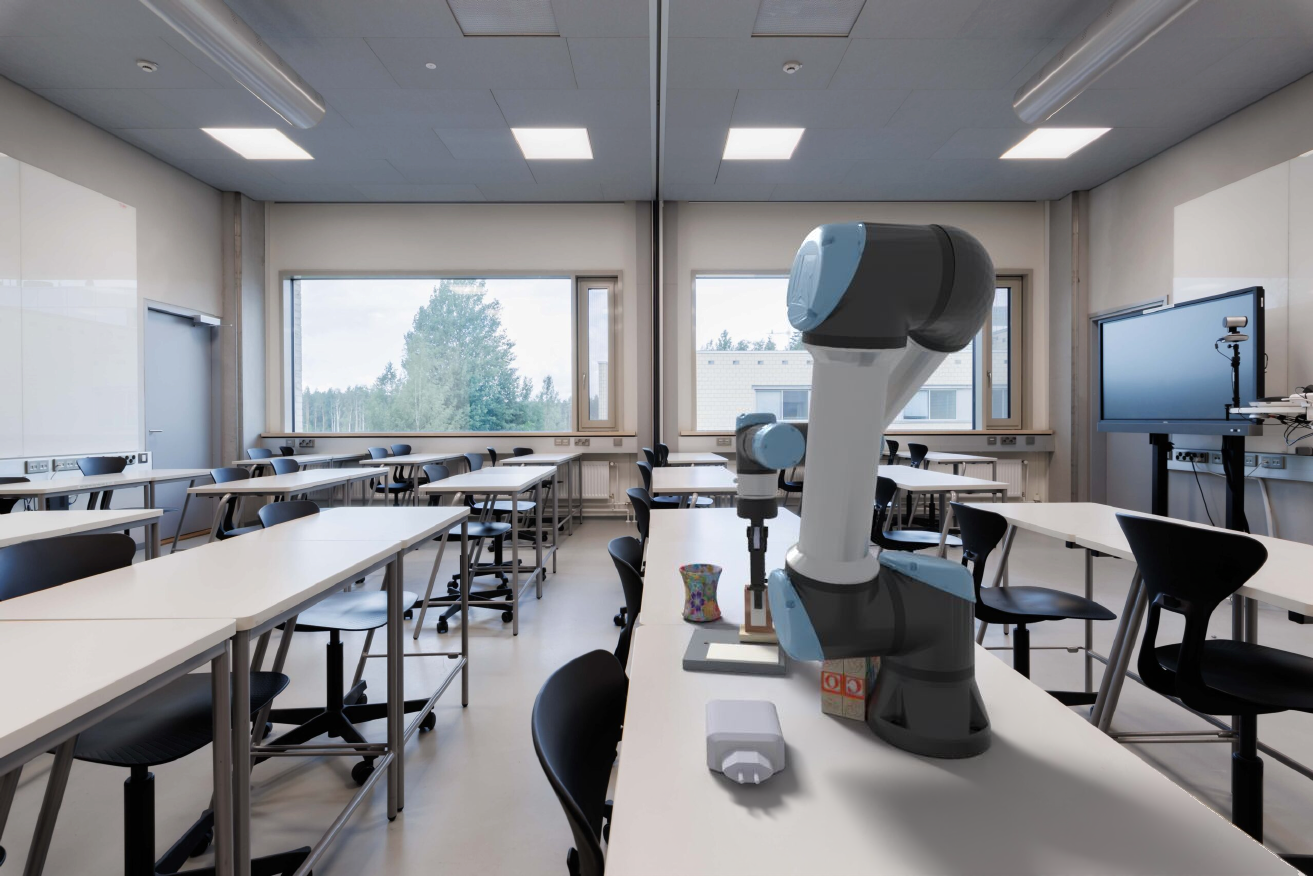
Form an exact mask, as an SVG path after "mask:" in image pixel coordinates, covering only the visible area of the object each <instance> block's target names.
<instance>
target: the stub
mask: <svg viewBox="0 0 1313 876" xmlns="http://www.w3.org/2000/svg"><path fill="white" fill-rule="evenodd" d="M747 587H750V584H745V585H744V594H743V595H744V623H740V627H739V631H740V632H739V641H750V642H769V643H778V636H777V634H776V631H775V627H774V624H773V620H772V616H771V611H770V606H769V599H768V584H766V585H765V590H766V626H751V591H747Z"/></svg>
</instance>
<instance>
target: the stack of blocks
mask: <svg viewBox="0 0 1313 876" xmlns="http://www.w3.org/2000/svg"><path fill="white" fill-rule="evenodd" d="M879 667H880V657H867V658H853V659H838V660H825V661H824V662H821V670H820V691H821V692H820V694H821V695H820V696H821V697H820V698H821V700H820V701H821V704H820V705H821V708H820V709H821V712H822V713H826V714H829V715H834V716H840V717H843V718H846V719H850V720H851V719H852V720H856V721H860V722H866V720H867V703H868V699H869V696H870V693H871V691H872V688H873V685H874V682H875V679H876V676H877V673H878V670H879Z"/></svg>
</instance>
